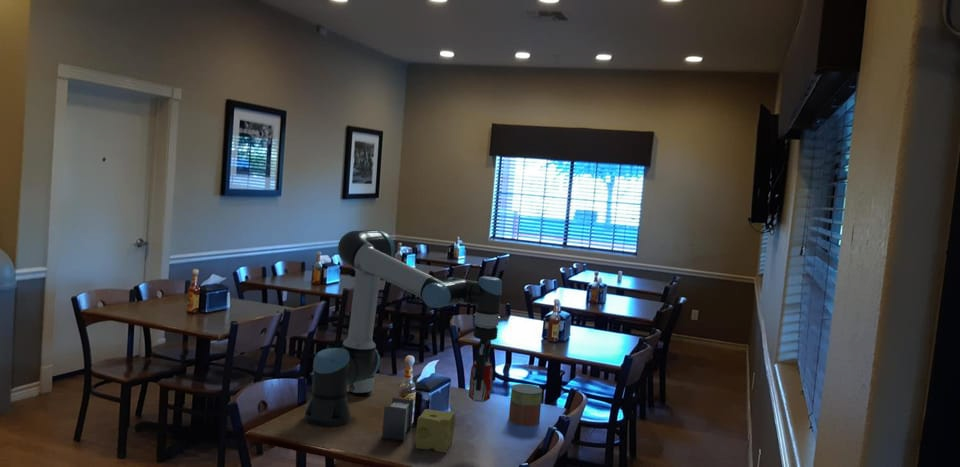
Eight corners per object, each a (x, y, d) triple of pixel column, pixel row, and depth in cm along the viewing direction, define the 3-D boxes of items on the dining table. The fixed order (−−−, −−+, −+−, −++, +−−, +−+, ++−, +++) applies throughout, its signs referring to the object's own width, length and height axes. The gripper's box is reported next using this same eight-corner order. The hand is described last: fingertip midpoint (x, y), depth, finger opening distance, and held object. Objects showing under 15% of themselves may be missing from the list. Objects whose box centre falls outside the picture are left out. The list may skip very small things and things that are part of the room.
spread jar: (376, 395, 265) (378, 365, 264) (351, 400, 257) (354, 369, 256) (357, 386, 273) (359, 358, 272) (333, 391, 265) (335, 361, 264)
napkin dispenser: (403, 442, 219) (405, 409, 218) (381, 439, 220) (384, 406, 219) (411, 432, 229) (413, 399, 228) (390, 429, 230) (393, 397, 229)
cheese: (446, 453, 214) (449, 422, 213) (413, 448, 215) (415, 417, 215) (453, 441, 224) (456, 411, 223) (421, 437, 226) (424, 407, 225)
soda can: (487, 404, 217) (491, 367, 216) (465, 400, 218) (469, 363, 217) (491, 397, 224) (495, 361, 223) (470, 394, 225) (474, 358, 224)
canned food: (532, 415, 257) (535, 383, 256) (544, 426, 246) (547, 393, 245) (504, 416, 253) (507, 384, 252) (514, 427, 242) (517, 393, 242)
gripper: (493, 333, 209) (486, 407, 210) (501, 321, 228) (494, 388, 230) (469, 330, 210) (462, 403, 211) (479, 318, 229) (472, 385, 231)
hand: (479, 395), depth 221 cm, fingers closed on soda can, 7 cm apart
